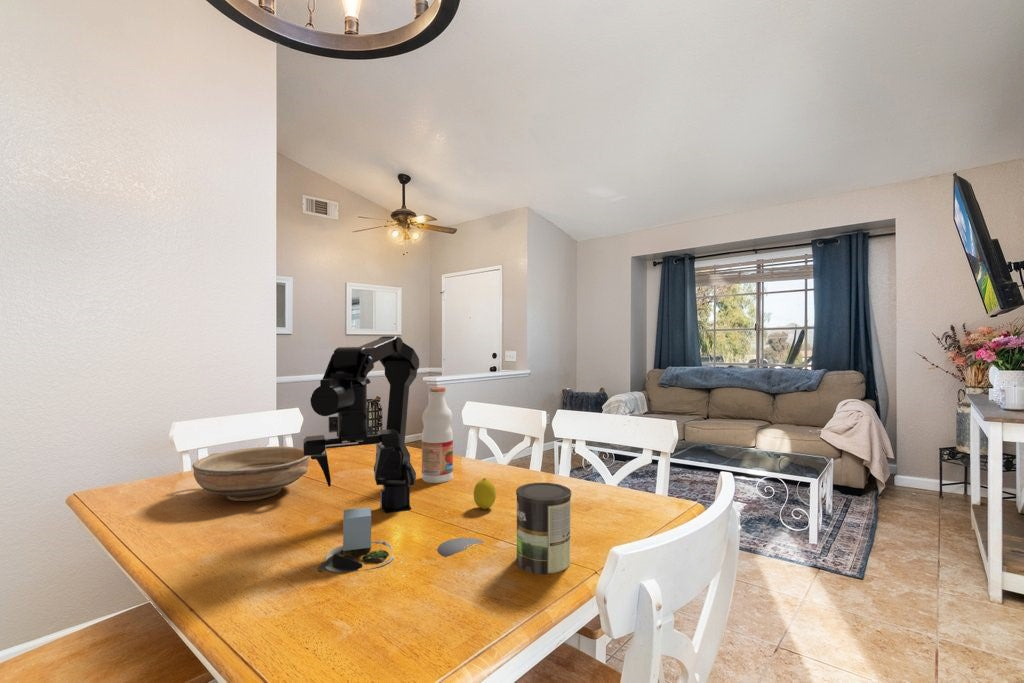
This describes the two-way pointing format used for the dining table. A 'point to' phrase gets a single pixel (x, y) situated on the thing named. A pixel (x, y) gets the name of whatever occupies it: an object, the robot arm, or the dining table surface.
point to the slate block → (357, 528)
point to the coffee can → (543, 527)
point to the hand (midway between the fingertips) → (353, 483)
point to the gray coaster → (456, 546)
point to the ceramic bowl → (251, 471)
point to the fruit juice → (437, 439)
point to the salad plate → (347, 561)
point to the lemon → (484, 493)
